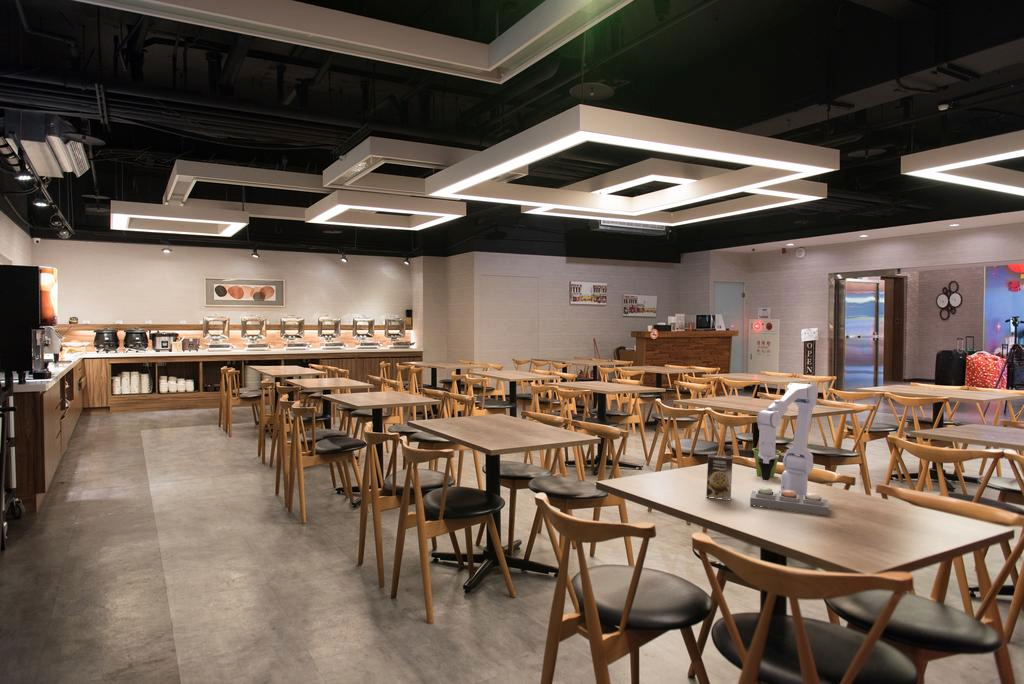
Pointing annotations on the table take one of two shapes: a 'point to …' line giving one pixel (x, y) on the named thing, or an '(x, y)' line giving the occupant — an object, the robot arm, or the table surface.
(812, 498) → the cream button
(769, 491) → the sage button
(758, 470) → the plant pot
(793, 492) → the terracotta button
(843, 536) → the table surface
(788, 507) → the button panel
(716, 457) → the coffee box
